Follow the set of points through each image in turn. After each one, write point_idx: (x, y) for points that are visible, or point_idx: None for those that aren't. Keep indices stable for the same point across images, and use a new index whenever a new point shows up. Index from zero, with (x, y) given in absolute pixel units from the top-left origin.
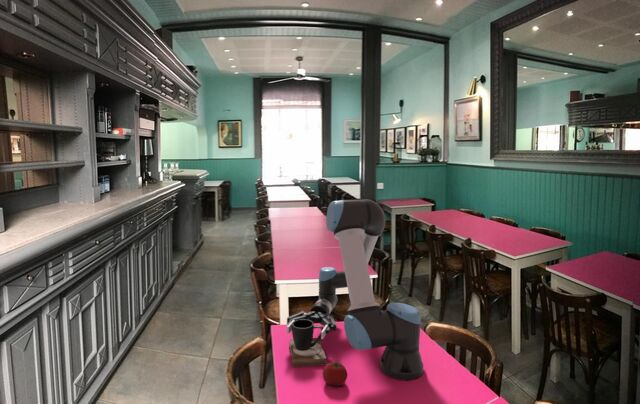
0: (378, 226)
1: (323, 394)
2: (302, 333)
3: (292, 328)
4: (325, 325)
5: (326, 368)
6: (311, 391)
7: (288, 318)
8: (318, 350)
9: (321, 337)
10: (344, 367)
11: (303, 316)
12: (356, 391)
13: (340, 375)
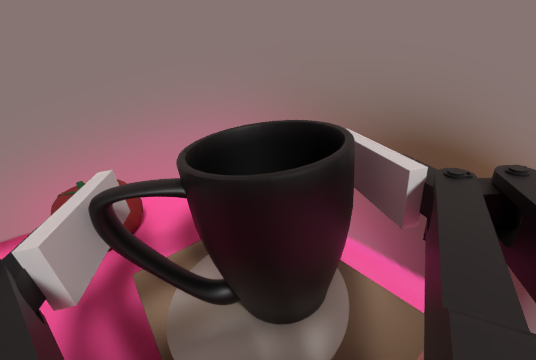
0: None
1: (145, 203)
2: (238, 156)
3: (312, 141)
4: (53, 229)
5: (121, 181)
6: (175, 198)
7: (500, 168)
8: (181, 302)
9: (125, 204)
10: (53, 204)
11: (465, 277)
12: None
13: None
